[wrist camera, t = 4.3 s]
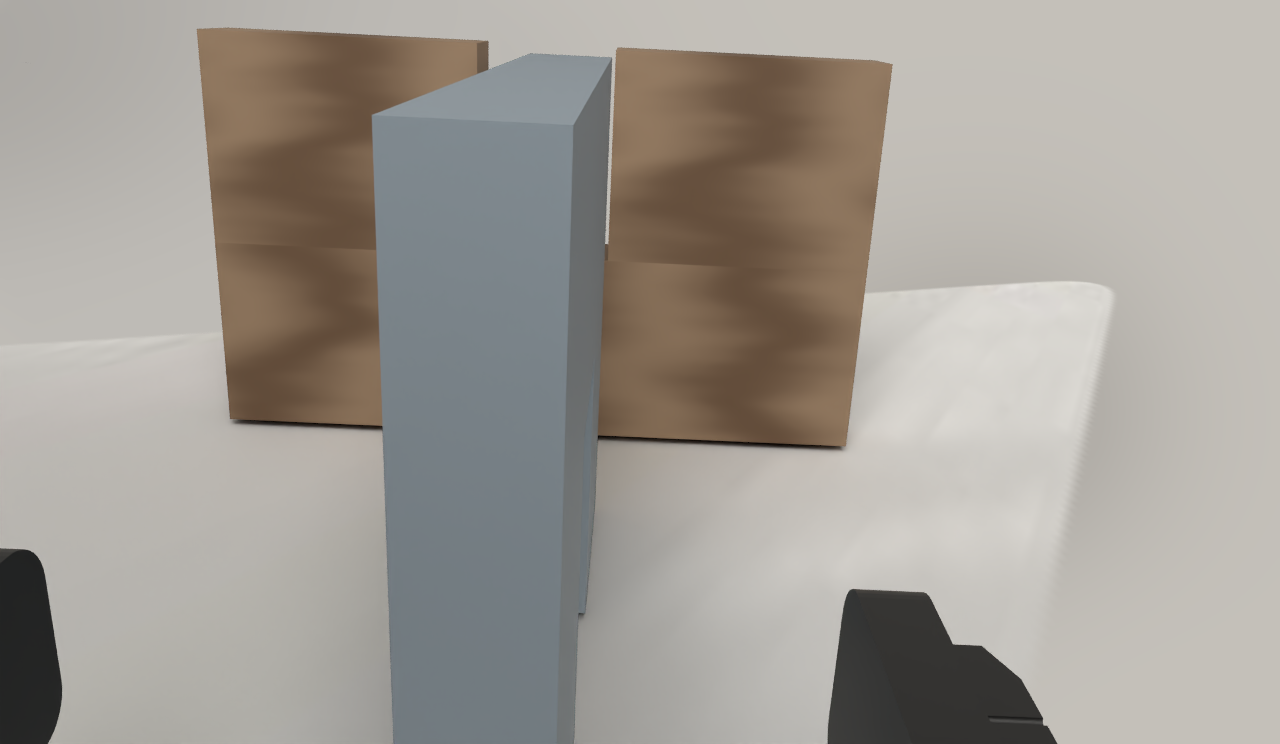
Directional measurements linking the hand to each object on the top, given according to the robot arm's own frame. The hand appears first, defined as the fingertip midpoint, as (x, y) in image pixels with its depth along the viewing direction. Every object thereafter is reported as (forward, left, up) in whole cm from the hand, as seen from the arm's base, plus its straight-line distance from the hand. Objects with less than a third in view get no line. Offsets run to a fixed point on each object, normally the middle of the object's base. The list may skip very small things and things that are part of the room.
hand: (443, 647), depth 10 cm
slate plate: (0, +10, -7) cm, 12 cm away
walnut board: (-1, +24, -7) cm, 25 cm away
